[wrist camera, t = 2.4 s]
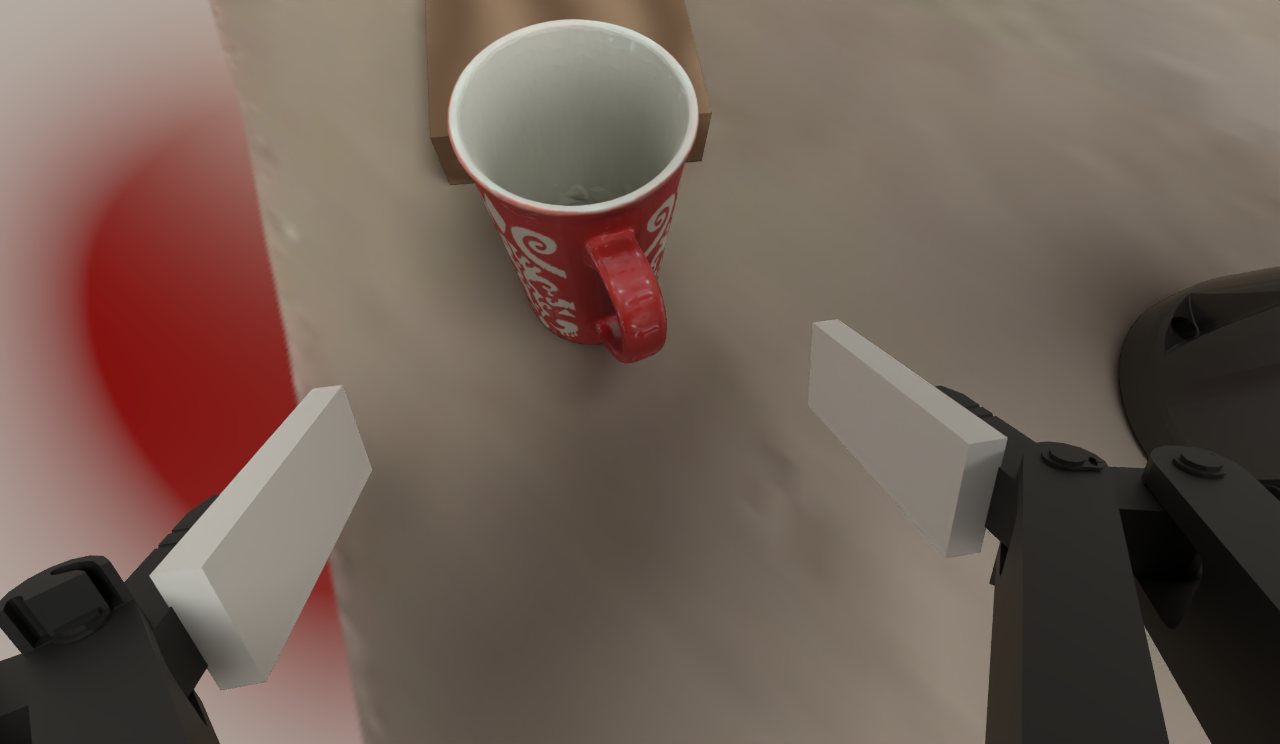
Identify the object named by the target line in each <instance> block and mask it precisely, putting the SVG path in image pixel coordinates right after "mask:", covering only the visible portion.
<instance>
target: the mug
mask: <svg viewBox="0 0 1280 744" xmlns="http://www.w3.org/2000/svg"><path fill="white" fill-rule="evenodd" d="M447 125H448V133H449V138H450V142H451V145H452V148H453V150H454V153H455V155H456V157H457V159H458V160H459V162H460V164H461V166H462V167H463V169H464V170H465V171H466V172H467V173H468V175H469V176H470V177H471V178H472V179H473V180H474V181H475V183H476V186H477V188H478V190H479V192H480V195H481V197H482V199H483V202H484V204H485V206H486V208H487V210H488V212H489V214H490V216H491V218H492V220H493V222H494V225H495V227H496V229H497V231H498V233H499V235H500V238H501V239H502V241H503V243H504V245H505V247H506V249H507V251H508V254H509V256H510V259H511V261H512V263H513V265H514V268H515V270H516V272H517V274H518V276H519V278H520V280H521V283H522V285H523V287H524V289H525V291H526V293H527V296H528V299H529V301H530V303H531V305H532V307H533V309H534V311H535V313H536V314H537V316H538V317H539V319H540V320H541V321H542V322H543V323H544V325H545V326H547V327H548V328H549V329H550V330H551V331H552V332H554V333H555V334H557V335H559V336H560V337H562V338H564V339H567V340H570V341H573V342H576V343H581V344H600V343H603V344H604V345H605V346H606V348H607V349H608V350H609V352H610V353H611V354H612V355H613V356H614V357H615V358H616V359H617V360H619V361H620V362H622V363H633V362H637V361H639V360H642V359H645V358H647V357H649V356H652V355H654V354H655V353H657V352H658V351H660V350H661V349H662V347H663V345H664V343H665V339H666V331H667V319H666V311H665V306H664V302H663V298H662V294H661V291H660V288H659V285H658V282H657V278H658V274H659V270H660V266H661V262H662V258H663V253H664V249H665V244H666V240H667V236H668V232H669V228H670V223H671V219H672V215H673V211H674V207H675V203H676V199H677V195H678V190H679V186H680V181H681V177H682V173H683V168H684V164H685V161H686V159H687V157H688V156H689V154H690V152H691V150H692V148H693V145H694V142H695V139H696V136H697V131H698V125H699V106H698V101H697V96H696V92H695V89H694V87H693V84H692V82H691V80H690V79H689V77H688V75H687V73H686V72H685V70H684V69H683V68H682V66H681V65H680V64H679V63H678V61H677V60H676V59H675V58H674V57H673V56H672V55H671V54H670V53H669V52H668V51H666V50H665V49H664V48H663V47H662V46H660V45H659V44H657V43H656V42H654V41H653V40H651V39H649V38H648V37H646V36H644V35H642V34H640V33H638V32H635V31H633V30H631V29H628V28H625V27H622V26H618V25H614V24H610V23H605V22H600V21H592V20H580V19H565V20H554V21H548V22H543V23H538V24H534V25H531V26H528V27H525V28H522V29H519V30H516V31H513V32H511V33H509V34H507V35H505V36H503V37H501V38H499V39H498V40H496V41H494V42H493V43H491V44H490V45H488V46H487V47H486V48H484V49H483V50H482V51H481V52H479V53H478V54H477V55H476V56H475V57H474V58H473V59H472V60H471V62H470V63H469V64H468V65H467V66H466V67H465V69H464V70H463V72H462V73H461V74H460V76H459V78H458V79H457V81H456V83H455V85H454V88H453V91H452V93H451V96H450V100H449V105H448V112H447Z"/></svg>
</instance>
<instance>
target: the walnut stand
mask: <svg viewBox="0 0 1280 744" xmlns="http://www.w3.org/2000/svg"><path fill="white" fill-rule="evenodd" d="M425 9H426V36H427V64H428V91H429V119H430V138H431V141H432V143H433V145H434V148H435V150H436V152H437V155H438V157H439V159H440V162H441V164H442V166H443V169H444V171H445V173H446V176H447V178H448V180H449V183H450V185H454V184H465V183H475V181H474V180H473V179H472V178H471V177H470V176H469V175H468V173H467V172H466V171H465V170H464V169H463V167H462V166H461V164H460V162H459V160H458V159H457V157H456V155H455V153H454V150H453V148H452V145H451V142H450V138H449V133H448V125H447V112H448V105H449V100H450V96H451V93H452V91H453V88H454V85H455V83H456V81H457V79H458V78H459V76H460V74H461V73H462V72H463V70H464V69H465V67H466V66H467V65H468V64H469V63H470V62H471V60H472V59H473V58H474V57H475V56H476V55H477V54H478V53H479V52H481V51H482V50H483V49H484V48H486V47H487V46H488V45H490V44H491V43H493V42H494V41H496V40H498V39H499V38H501V37H503V36H505V35H507V34H509V33H511V32H513V31H516V30H519V29H522V28H525V27H528V26H531V25H534V24H538V23H543V22H548V21H554V20H565V19H580V20H592V21H600V22H605V23H610V24H614V25H618V26H622V27H625V28H628V29H631V30H633V31H635V32H638V33H640V34H642V35H644V36H646V37H648V38H649V39H651V40H653V41H654V42H656V43H657V44H659V45H660V46H662V47H663V48H664V49H665V50H666V51H668V52H669V53H670V54H671V55H672V56H673V57H674V58H675V59H676V60H677V61H678V63H679V64H680V65H681V66H682V68H683V69H684V70H685V72H686V73H687V75H688V77H689V79H690V80H691V82H692V84H693V87H694V89H695V92H696V96H697V101H698V106H699V125H698V131H697V136H696V139H695V142H694V145H693V148H692V150H691V152H690V154H689V156H688V157H687V159H686V161H685V162H692V161H702V156H703V152H704V147H705V142H706V138H707V133H708V128H709V124H710V119H711V114H712V111H711V107H710V103H709V99H708V95H707V91H706V87H705V83H704V79H703V75H702V71H701V67H700V63H699V59H698V55H697V51H696V47H695V43H694V39H693V35H692V31H691V27H690V23H689V19H688V15H687V11H686V7H685V3H684V0H425Z"/></svg>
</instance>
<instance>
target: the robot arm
mask: <svg viewBox="0 0 1280 744" xmlns="http://www.w3.org/2000/svg"><path fill="white" fill-rule="evenodd" d="M1119 374H1120V387H1121V394H1122V399H1123V403H1124V406H1125V410H1126V413H1127V416H1128V419H1129V421H1130V423H1131V426H1132V428H1133V430H1134V432H1135V434H1136V436H1137V438H1138V440H1139V442H1140V444H1141V446H1142V447H1143V449H1144V450H1145V452H1146V454H1147V455H1148V457H1149V459H1148V461H1147V464H1146V467H1145V468H1125V467H1108V465H1107V464H1106V462H1105V461H1104V460H1102V459H1101V458H1099V457H1098V456H1097V455H1095V454H1093V453H1091V452H1089V451H1087V450H1084V449H1082V448H1080V447H1076V446H1072V445H1068V444H1065V443H1057V442H1038V443H1036V442H1034V441H1033V440H1031V439H1030V438H1028V437H1027V436H1025V435H1024V434H1022V433H1021V432H1019V431H1018V430H1016V429H1015V428H1013V427H1012V426H1010V425H1009V424H1007V423H1006V422H1004V421H1003V420H1001V419H1000V418H998V417H997V416H993V414H992V413H991V412H989V411H988V410H986V409H985V408H983V407H979V404H977V403H976V402H974V401H973V400H971V399H970V398H968V397H967V396H965V395H964V394H962V393H959V392H956V391H954V390H951V389H948V388H946V387H943V386H936V387H934V386H933V385H931V384H930V383H929V382H927V381H926V380H924V379H923V378H921V377H920V376H918V375H917V374H916V373H914V372H913V371H911V370H910V369H908V368H907V367H906V366H904V365H903V364H901V363H900V362H898V361H897V360H896V359H894V358H893V357H891V356H890V355H888V354H887V353H886V352H884V351H883V350H881V349H880V348H878V347H877V346H876V345H874V344H873V343H871V342H870V341H868V340H867V339H866V338H864V337H863V336H861V335H860V334H858V333H857V332H855V331H854V330H853V329H851V328H850V327H848V326H847V325H845V324H844V323H843V322H841V321H840V320H838V319H835V320H827V321H820V322H813V326H812V343H811V361H810V378H809V396H808V406H809V407H810V408H811V409H812V411H813V412H814V413H815V414H816V415H817V416H818V417H819V418H820V419H821V421H822V422H823V423H824V424H825V425H826V426H827V427H828V428H829V429H830V431H831V432H832V433H833V434H834V435H835V436H836V437H837V438H838V439H839V441H840V442H841V443H842V444H843V445H844V446H845V447H846V448H847V450H848V451H849V452H850V453H851V454H852V455H853V456H854V457H855V458H856V460H857V461H858V462H859V463H860V464H861V465H862V466H863V467H864V468H865V470H866V471H867V472H868V473H869V474H870V475H871V476H872V477H873V478H874V480H875V481H876V482H877V483H878V484H879V485H880V486H881V487H882V488H883V490H884V491H885V492H886V493H887V494H888V495H889V496H890V497H891V498H892V500H893V501H894V502H895V503H896V504H897V505H898V506H899V507H900V508H901V510H902V511H903V512H904V513H905V514H906V515H907V516H908V517H909V519H910V520H911V521H912V522H913V523H914V524H915V525H916V526H917V527H918V529H919V530H920V531H921V532H922V533H923V534H924V535H925V536H926V537H927V539H928V540H929V541H930V542H931V543H932V544H933V545H934V546H935V547H936V549H937V550H938V551H939V552H940V553H941V554H942V555H943V556H944V557H945V558H951V557H956V556H962V555H967V554H973V553H978V552H980V551H981V547H982V542H983V538H984V534H985V530H986V528H987V529H988V530H989V531H990V532H991V533H992V534H993V535H994V536H995V537H996V538H997V539H998V540H999V541H1000V545H999V548H998V552H997V556H996V560H995V564H994V568H993V572H992V575H991V579H990V583H989V584H991V585H995V591H994V607H993V624H992V640H991V657H990V674H989V690H988V707H987V723H986V740H985V744H1169V740H1168V736H1167V731H1166V726H1165V722H1164V717H1163V712H1162V708H1161V703H1160V699H1159V694H1158V689H1157V685H1156V680H1155V675H1154V671H1153V666H1152V661H1151V657H1150V652H1149V647H1148V643H1147V638H1146V633H1145V629H1144V626H1145V628H1146V629H1147V631H1148V633H1149V635H1150V636H1151V638H1152V640H1153V642H1154V643H1155V645H1156V647H1157V649H1158V650H1159V652H1160V654H1161V656H1162V657H1163V659H1164V661H1165V663H1166V664H1167V666H1168V668H1169V670H1170V671H1171V673H1172V675H1173V677H1174V678H1175V680H1176V682H1177V684H1178V686H1179V687H1180V689H1181V691H1182V693H1183V694H1184V696H1185V698H1186V700H1187V701H1188V703H1189V705H1190V707H1191V708H1192V710H1193V712H1194V714H1195V715H1196V717H1197V719H1198V721H1199V722H1200V724H1201V726H1202V728H1203V729H1204V731H1205V733H1206V735H1207V736H1208V738H1209V740H1210V742H1211V743H1212V744H1280V266H1279V267H1273V268H1268V269H1262V270H1257V271H1251V272H1246V273H1241V274H1235V275H1230V276H1224V277H1219V278H1215V279H1211V280H1208V281H1205V282H1202V283H1199V284H1196V285H1194V286H1192V287H1190V288H1187V289H1185V290H1183V291H1181V292H1179V293H1177V294H1175V295H1173V296H1171V297H1169V298H1167V299H1165V300H1163V301H1161V302H1159V303H1157V304H1155V305H1154V306H1152V307H1151V308H1149V309H1148V310H1147V311H1146V312H1144V313H1143V314H1142V315H1141V316H1140V317H1139V318H1138V320H1137V321H1136V322H1135V323H1134V325H1133V326H1132V328H1131V329H1130V331H1129V333H1128V335H1127V337H1126V340H1125V342H1124V345H1123V349H1122V353H1121V359H1120V371H1119ZM371 472H372V468H371V465H370V462H369V459H368V456H367V453H366V451H365V448H364V445H363V442H362V439H361V436H360V433H359V431H358V428H357V425H356V422H355V419H354V416H353V413H352V411H351V408H350V405H349V402H348V399H347V396H346V393H345V391H344V388H343V385H338V386H330V387H323V388H315V389H312V390H311V391H310V392H309V393H308V395H307V396H306V397H305V398H304V399H303V400H302V401H301V403H300V404H299V405H298V406H297V407H296V408H295V410H294V411H293V412H292V413H291V414H290V415H289V416H288V418H287V419H286V420H285V421H284V422H283V423H282V424H281V426H280V427H279V428H278V429H277V430H276V431H275V432H274V434H273V435H272V436H271V437H270V438H269V439H268V440H267V441H266V443H265V444H264V445H263V446H262V447H261V448H260V449H259V451H258V452H257V453H256V454H255V455H254V457H253V458H252V459H251V460H250V461H249V462H248V463H247V464H246V466H245V467H244V468H243V469H242V470H241V471H240V473H239V474H238V475H237V476H236V477H235V478H234V479H233V480H232V482H231V483H230V484H229V485H228V486H227V488H225V490H224V491H223V492H222V493H221V494H219V495H213V496H211V497H210V498H208V499H207V500H205V501H204V502H202V503H201V504H200V505H198V506H197V507H196V508H194V509H192V510H191V511H190V512H188V513H187V514H186V516H185V517H184V518H183V519H182V520H181V521H180V522H179V523H178V524H177V525H176V526H175V527H174V529H173V530H172V533H171V534H168V535H167V536H166V537H165V538H164V540H163V541H162V542H161V543H160V544H159V548H158V549H154V550H153V552H152V553H151V554H150V555H149V556H148V557H147V558H146V559H145V560H144V561H143V562H142V564H141V565H140V566H139V567H138V568H137V569H136V570H135V571H134V572H133V574H132V575H131V576H130V577H129V578H128V579H127V580H126V581H125V582H123V580H122V579H121V577H120V576H119V574H118V573H117V571H116V570H115V568H114V567H113V565H112V564H111V562H110V561H109V560H108V559H107V558H105V557H104V556H85V557H81V558H76V559H72V560H69V561H66V562H64V563H61V564H58V565H56V566H53V567H51V568H48V569H46V570H44V571H42V572H40V573H38V574H36V575H34V576H33V577H31V578H29V579H27V580H26V581H24V582H23V583H21V584H20V585H18V586H17V587H16V588H14V589H12V590H11V591H10V592H8V593H7V594H6V595H5V596H4V597H3V598H2V599H1V600H0V628H1V629H2V630H3V631H4V633H5V634H6V635H7V636H8V637H9V639H10V640H11V641H12V642H13V643H14V645H15V646H16V647H17V648H18V650H19V651H20V652H21V653H22V654H19V655H17V656H14V657H11V658H8V659H5V660H2V661H0V744H220V743H219V741H218V738H217V736H216V734H215V732H214V729H213V727H212V724H211V722H210V720H209V717H208V715H207V712H206V710H205V708H204V706H203V703H202V701H201V700H200V698H199V697H198V695H197V693H196V692H195V690H194V688H195V686H196V685H197V683H198V681H199V680H200V678H201V676H202V675H203V673H204V672H205V670H206V669H208V671H209V672H210V674H211V675H212V677H213V679H214V680H215V682H216V684H217V685H218V687H219V688H220V690H225V689H231V688H236V687H241V686H247V685H253V684H258V683H264V682H266V681H267V679H268V676H269V675H270V673H271V671H272V669H273V667H274V665H275V663H276V661H277V659H278V657H279V655H280V653H281V651H282V649H283V647H284V645H285V643H286V641H287V639H288V637H289V635H290V633H291V631H292V629H293V627H294V625H295V623H296V621H297V619H298V617H299V615H300V613H301V611H302V609H303V607H304V605H305V603H306V601H307V599H308V597H309V595H310V593H311V591H312V589H313V587H314V585H315V583H316V581H317V579H318V577H319V575H320V573H321V571H322V569H323V567H324V565H325V563H326V561H327V559H328V557H329V555H330V553H331V551H332V549H333V547H334V545H335V544H336V542H337V540H338V538H339V536H340V534H341V532H342V530H343V528H344V526H345V524H346V522H347V520H348V518H349V516H350V514H351V512H352V510H353V508H354V506H355V504H356V502H357V500H358V498H359V496H360V494H361V492H362V490H363V488H364V486H365V484H366V482H367V480H368V478H369V476H370V474H371Z"/></svg>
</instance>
